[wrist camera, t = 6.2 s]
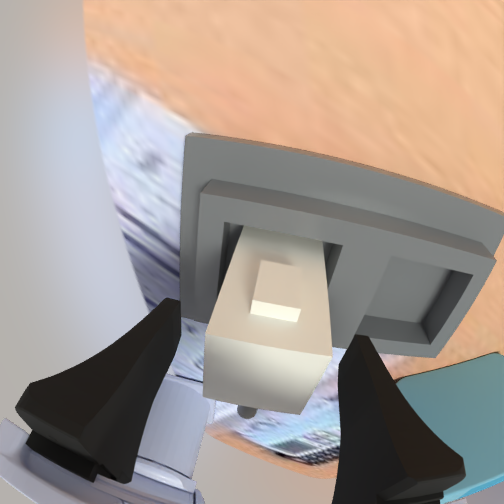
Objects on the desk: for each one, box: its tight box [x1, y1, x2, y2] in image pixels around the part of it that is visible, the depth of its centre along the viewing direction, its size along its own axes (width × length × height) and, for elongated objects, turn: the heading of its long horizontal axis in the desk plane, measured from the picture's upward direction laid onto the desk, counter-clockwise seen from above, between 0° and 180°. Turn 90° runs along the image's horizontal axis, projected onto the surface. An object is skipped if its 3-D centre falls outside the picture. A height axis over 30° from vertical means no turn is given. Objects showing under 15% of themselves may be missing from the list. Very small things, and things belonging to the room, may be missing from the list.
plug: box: [203, 226, 333, 419], centre depth 14 cm, size 4×8×8 cm, turn 172°
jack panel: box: [180, 132, 504, 358], centre depth 16 cm, size 19×12×3 cm, turn 82°
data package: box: [396, 353, 504, 504], centre depth 17 cm, size 12×4×12 cm, turn 107°
